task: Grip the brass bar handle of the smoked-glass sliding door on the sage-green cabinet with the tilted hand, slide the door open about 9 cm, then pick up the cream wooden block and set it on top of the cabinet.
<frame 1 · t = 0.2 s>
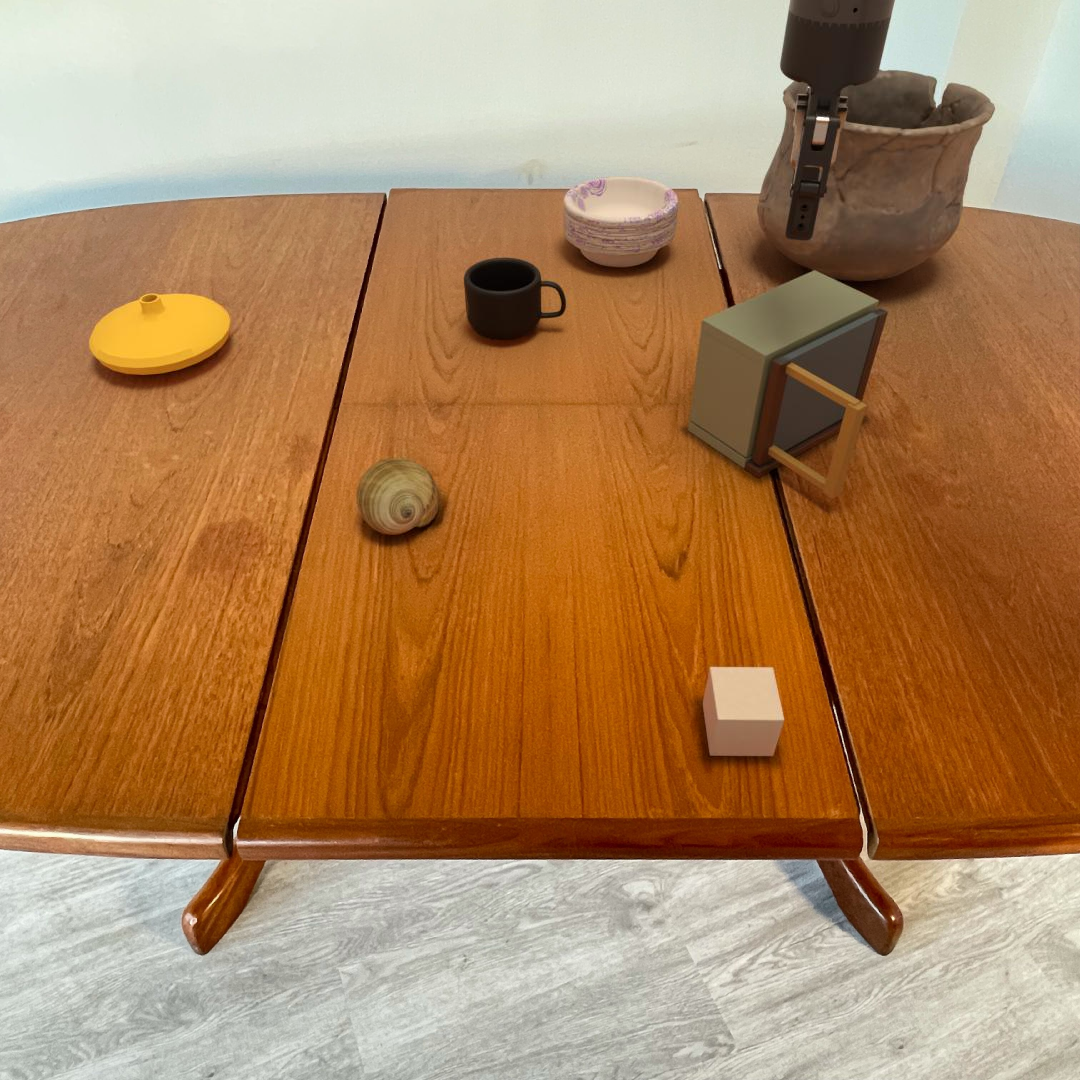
hand: (799, 217, 77), 22 cm above the table, tool pointing down, fingers open, 8 cm apart
pot: (842, 266, 118), on the table
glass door: (853, 406, 83), point 7 cm above the table, slide at 0.0 cm
mug: (516, 330, 107), on the table
seashell: (398, 513, 83), on the table
cabinet: (768, 420, 93), on the table
paper bowls: (617, 254, 121), on the table
vase: (169, 354, 104), on the table
block: (736, 729, 65), on the table
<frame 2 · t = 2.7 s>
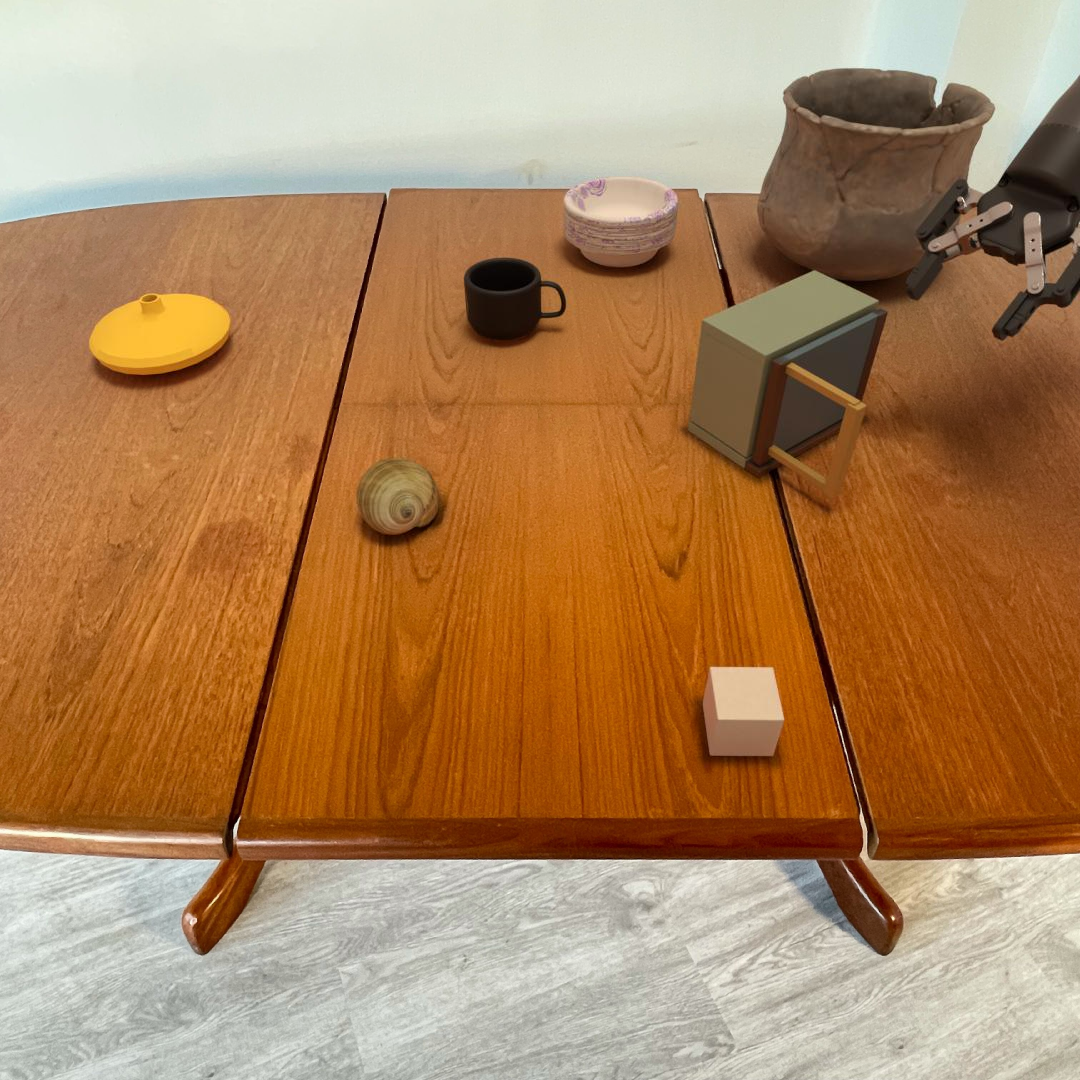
hand: (952, 315, 76), 16 cm above the table, tool tilted 45°, fingers open, 8 cm apart
nothing on the table moved.
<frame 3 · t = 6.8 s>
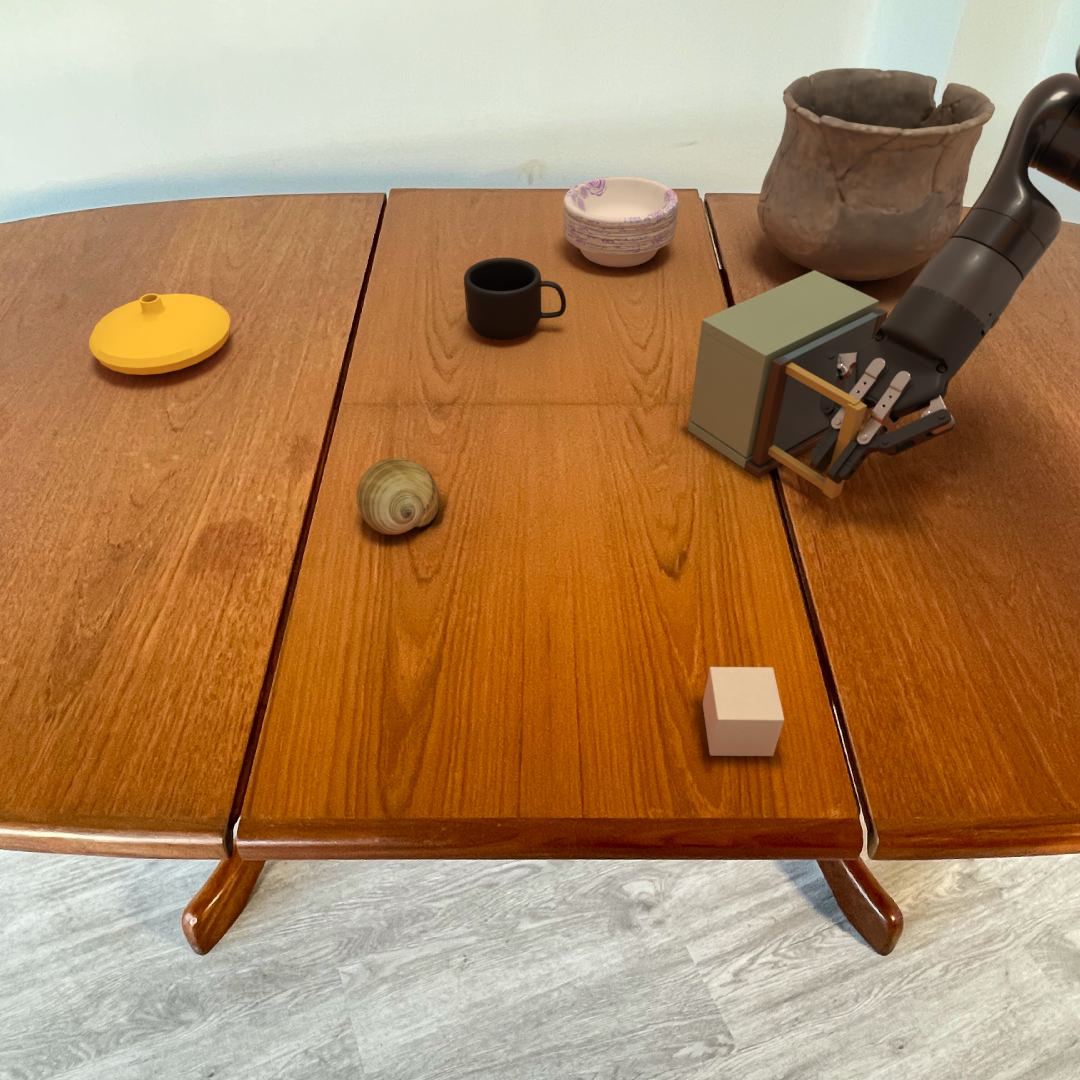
hand: (824, 474, 78), 5 cm above the table, tool tilted 45°, fingers closed
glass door: (853, 406, 83), point 7 cm above the table, slide at 0.0 cm, touching gripper
everything else where it was.
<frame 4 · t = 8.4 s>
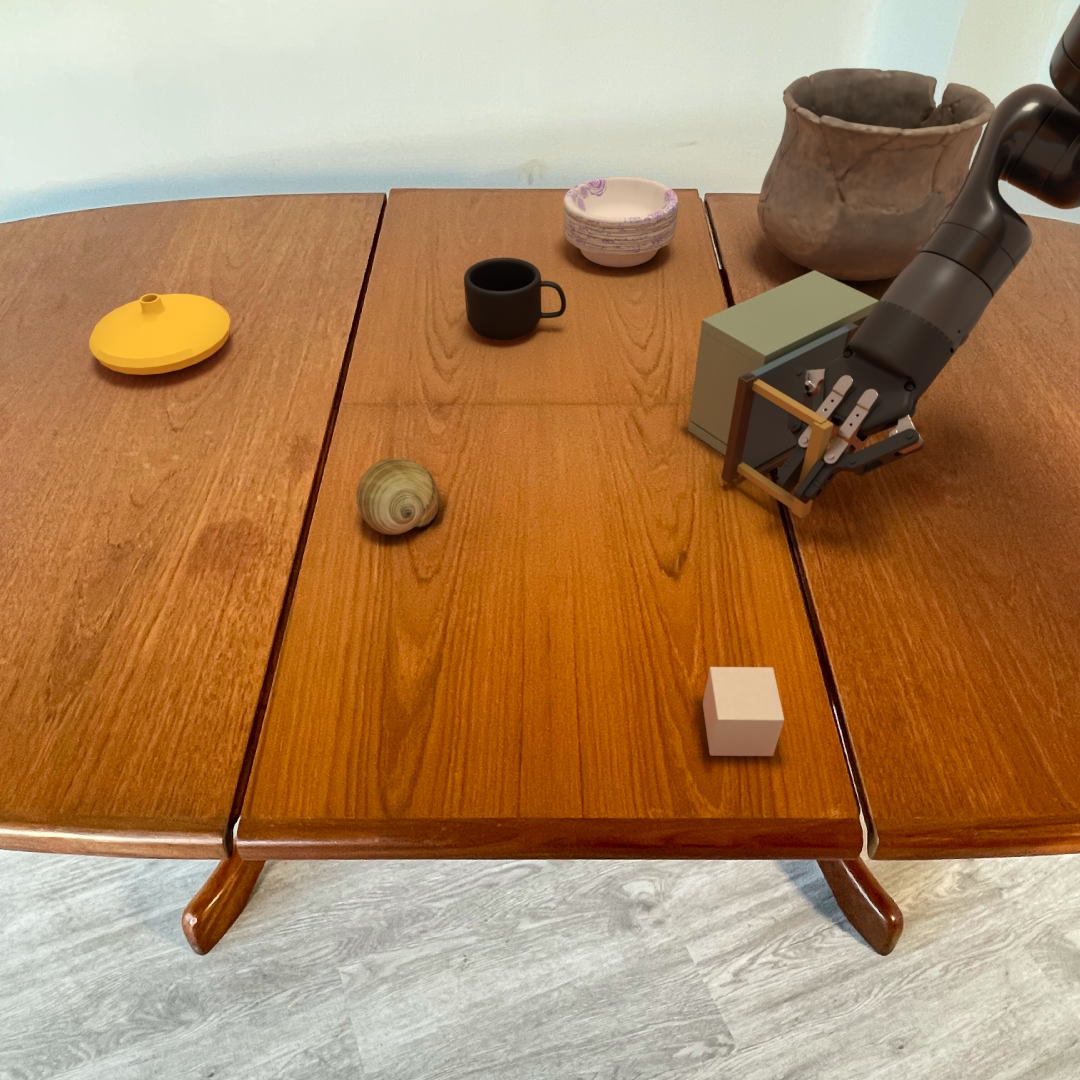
hand: (791, 493, 76), 5 cm above the table, tool tilted 45°, fingers closed
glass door: (823, 423, 81), point 7 cm above the table, slide at 4.3 cm, touching gripper
everything else where it was.
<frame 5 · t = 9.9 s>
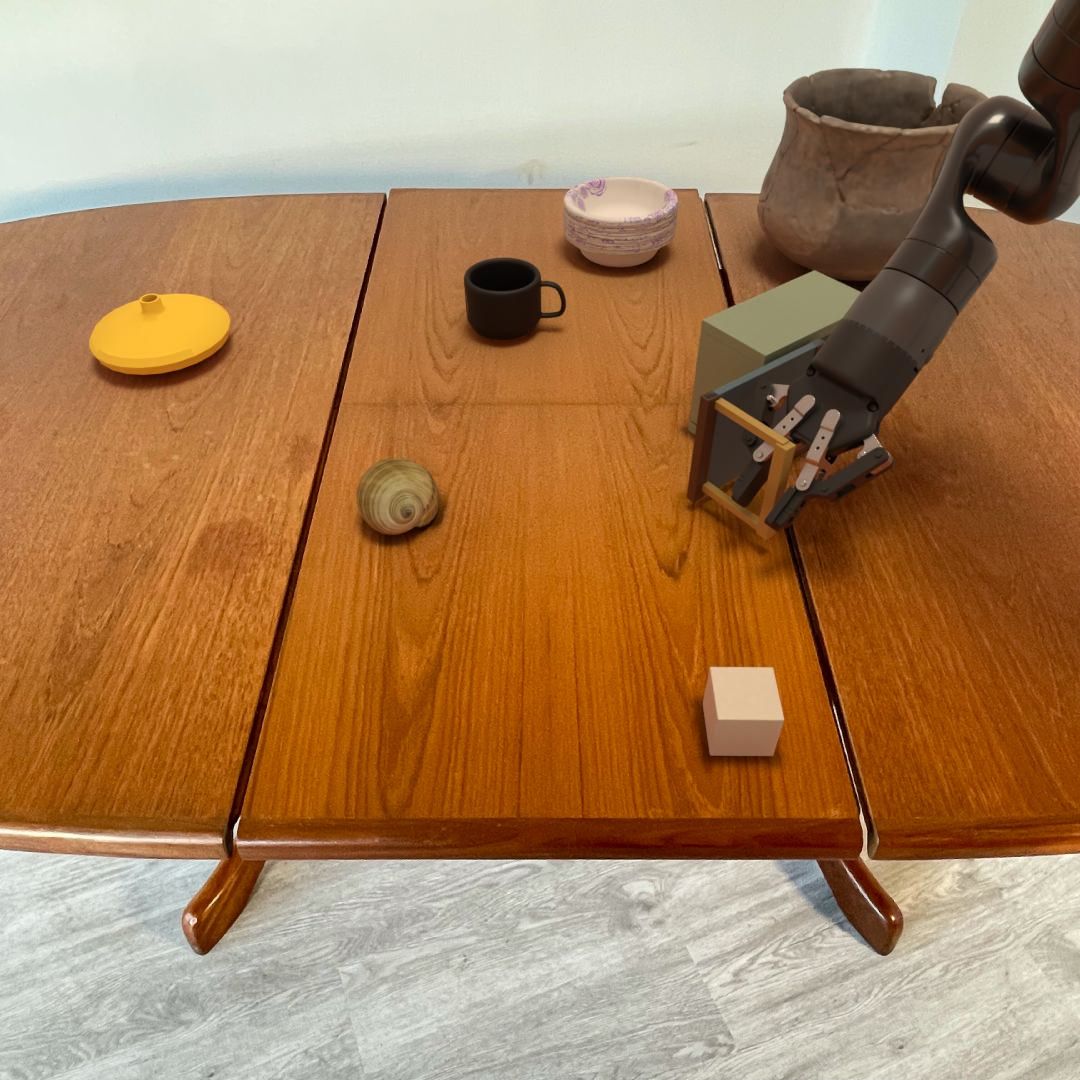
hand: (754, 514, 74), 5 cm above the table, tool tilted 45°, fingers open, 3 cm apart
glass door: (789, 441, 79), point 7 cm above the table, slide at 8.9 cm
everything else where it was.
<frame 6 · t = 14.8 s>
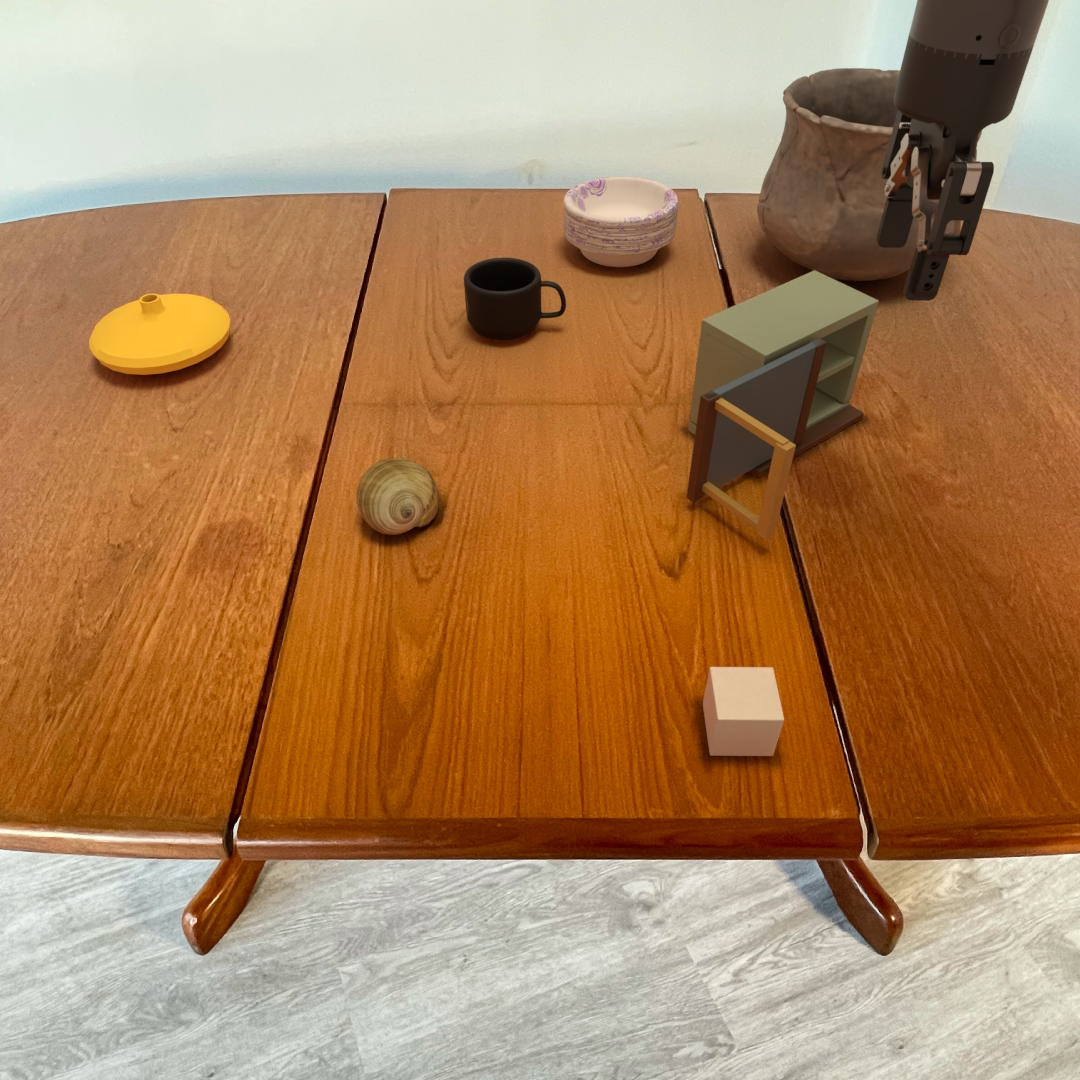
hand: (903, 270, 67), 24 cm above the table, tool pointing down, fingers open, 8 cm apart
nothing on the table moved.
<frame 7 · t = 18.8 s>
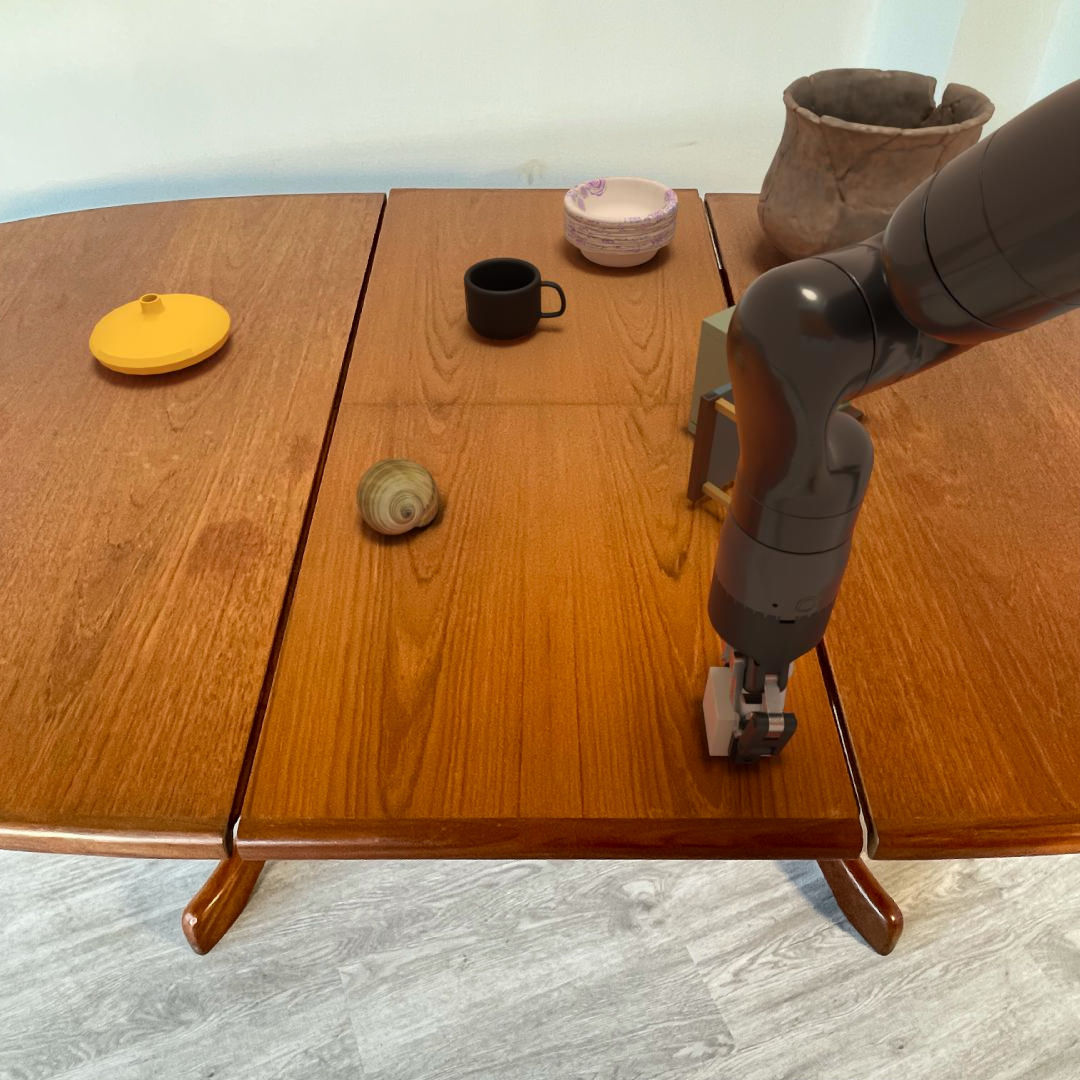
hand: (737, 727, 65), 0 cm above the table, tool pointing down, fingers closed on block, 4 cm apart
block: (736, 729, 65), on the table, touching gripper
everything else where it was.
when the fingers open (13 cm above the table, at t = 26.2 s): block stays where it is, resting on cabinet.
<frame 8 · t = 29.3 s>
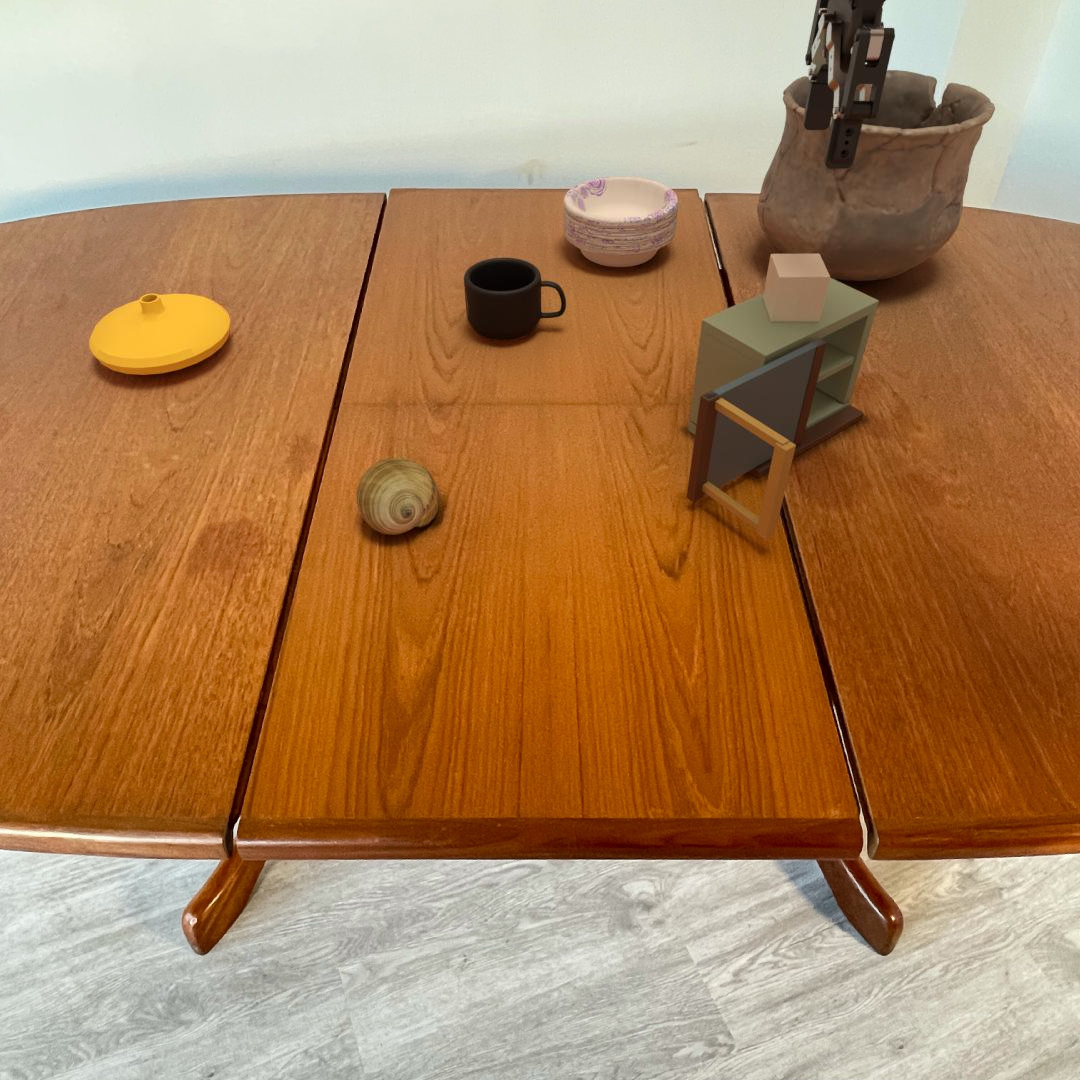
hand: (825, 147, 74), 28 cm above the table, tool pointing down, fingers open, 8 cm apart
block: (790, 309, 84), point 13 cm above the table, touching cabinet
everything else where it was.
at the end: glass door slide at 8.9 cm; block 0.1 cm off-centre on the cabinet, point 13.0 cm above the cabinet's base; block tilted 0° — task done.
